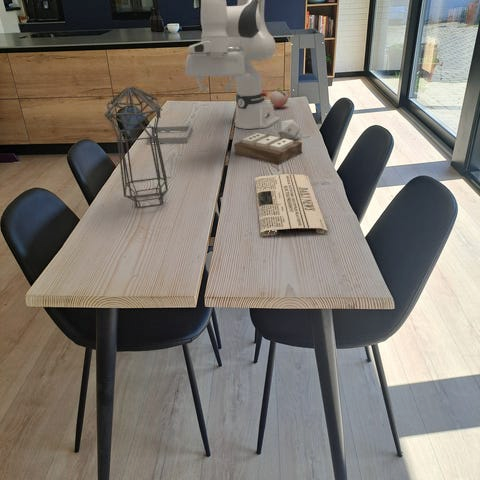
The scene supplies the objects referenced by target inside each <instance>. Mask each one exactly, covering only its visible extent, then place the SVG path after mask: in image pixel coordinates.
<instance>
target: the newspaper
mask: <svg viewBox="0 0 480 480" xmlns="http://www.w3.org/2000/svg"><path fill="white" fill-rule="evenodd" d="M254 184H255V185H254V186H255V193H256V194H255V196H256V207H257V215H258V216H257V217H258V226H259V235H260V236H261V237H262V238H264V236H265V237H267V236H266V235H268V234H269V235H271V236H277V235H276V234H277V232H278V230H289V229H314V230H315V232H316V233H318V234H324V235H326V234H328V229H327V225H326V223H325V220H324V217H323V214H322V212H321V210H320V206H319V204H318V201H317V198H316V196H315V193H314V192H315V191H314V190H313V187H312V185H311V181H310V178H309V176H308V175H304V174H289V173H287V174H286V173H285V174H284V173H283V174H275V175H274V174H273V175H272V174H271V175H262V176H260V175H259V176H257V177H255V178H254ZM269 230H270V232H269ZM272 230H277V232H275V231H272ZM268 232H269V233H268ZM274 232H275V233H274ZM262 235H263V236H262Z"/></svg>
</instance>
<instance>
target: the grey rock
mask: <svg viewBox="0 0 480 480" xmlns="http://www.w3.org/2000/svg"><path fill="white" fill-rule="evenodd" d="M300 130H301V127H300V126H299V125H298V123H296V121H295V120H294V119H292V118H291V119H286V120H281V121H280V124H279V126H278V130H277V131H276V133H277V134H278V135H279V136H280V138H282V139H289V140H293V141H296V139H297V136H298V135H299V132H300Z"/></svg>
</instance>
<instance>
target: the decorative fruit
mask: <svg viewBox="0 0 480 480" xmlns="http://www.w3.org/2000/svg"><path fill="white" fill-rule="evenodd" d="M269 100H270V103H271V105H272V106H274V107H276V108H278V109H280V108H282V107H284V106H285V105H286V104H287V103H288V100H289V95H288V93H287V92H286V91H285V90H280V89H279V88H278V89H277V88H276V89H273V90H272V92H271V94H270V95H269Z"/></svg>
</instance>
